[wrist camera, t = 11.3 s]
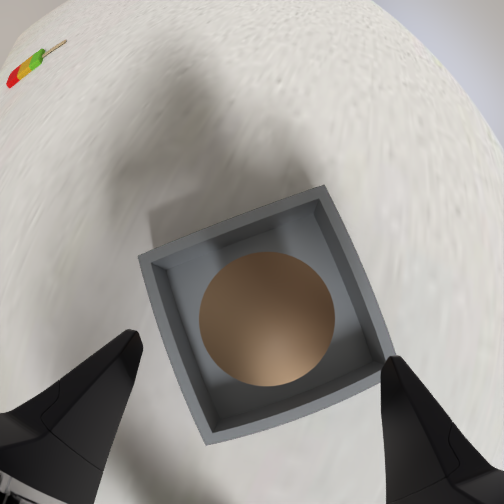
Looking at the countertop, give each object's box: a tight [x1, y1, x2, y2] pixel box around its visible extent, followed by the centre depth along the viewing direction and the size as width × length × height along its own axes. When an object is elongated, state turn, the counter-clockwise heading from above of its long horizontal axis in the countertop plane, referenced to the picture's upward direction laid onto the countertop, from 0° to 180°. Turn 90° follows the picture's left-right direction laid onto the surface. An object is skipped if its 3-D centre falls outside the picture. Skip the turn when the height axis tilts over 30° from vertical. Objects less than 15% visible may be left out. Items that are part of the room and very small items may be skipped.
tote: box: [138, 185, 396, 446], centre depth 19 cm, size 14×14×4 cm
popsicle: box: [6, 40, 66, 88], centre depth 33 cm, size 6×15×2 cm, turn 112°
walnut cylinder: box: [199, 252, 335, 386], centre depth 15 cm, size 5×5×10 cm
